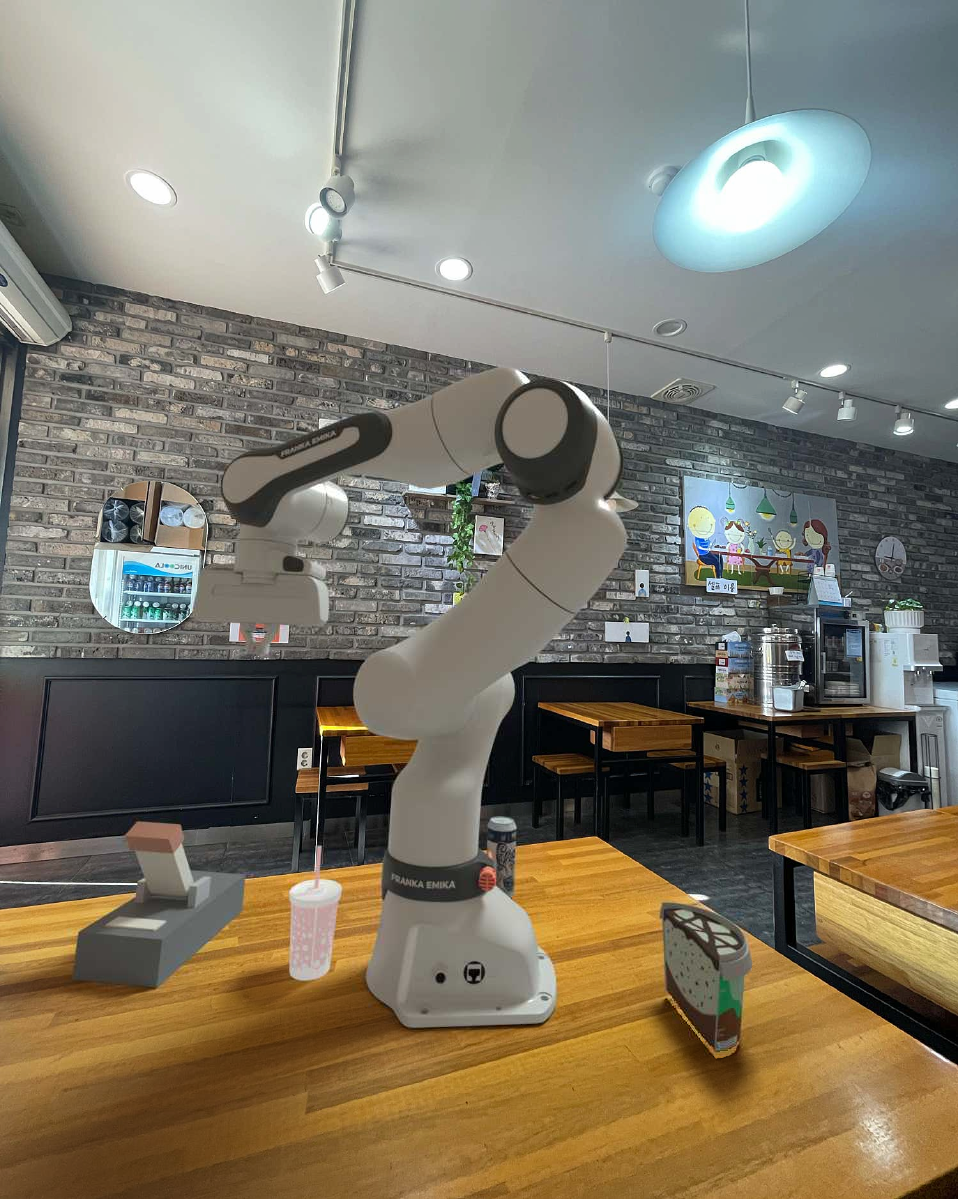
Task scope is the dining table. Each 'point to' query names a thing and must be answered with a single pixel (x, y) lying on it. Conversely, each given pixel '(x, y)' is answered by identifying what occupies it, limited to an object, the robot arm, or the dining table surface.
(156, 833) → the lever
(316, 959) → the beverage cup
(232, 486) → the robot arm
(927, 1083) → the dining table surface
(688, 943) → the food container
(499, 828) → the beer can
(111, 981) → the switch panel
